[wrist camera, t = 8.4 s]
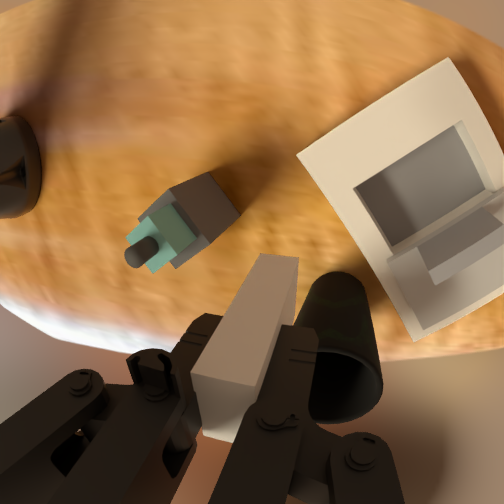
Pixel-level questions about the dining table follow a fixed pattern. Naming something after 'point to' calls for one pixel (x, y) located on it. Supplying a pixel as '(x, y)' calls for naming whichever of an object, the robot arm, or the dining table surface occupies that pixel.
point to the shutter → (454, 263)
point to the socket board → (409, 172)
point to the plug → (180, 224)
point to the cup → (341, 350)
